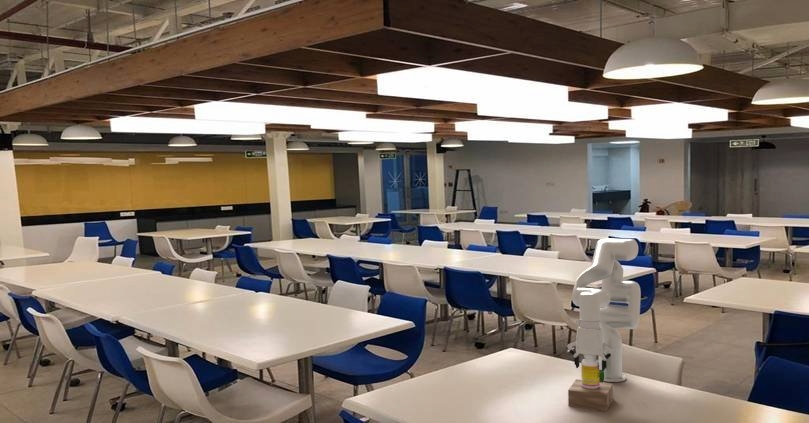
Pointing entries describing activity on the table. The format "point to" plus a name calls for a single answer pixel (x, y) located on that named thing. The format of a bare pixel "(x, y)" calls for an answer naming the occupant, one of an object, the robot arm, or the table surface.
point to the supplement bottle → (590, 372)
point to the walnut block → (590, 396)
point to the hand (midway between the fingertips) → (590, 368)
